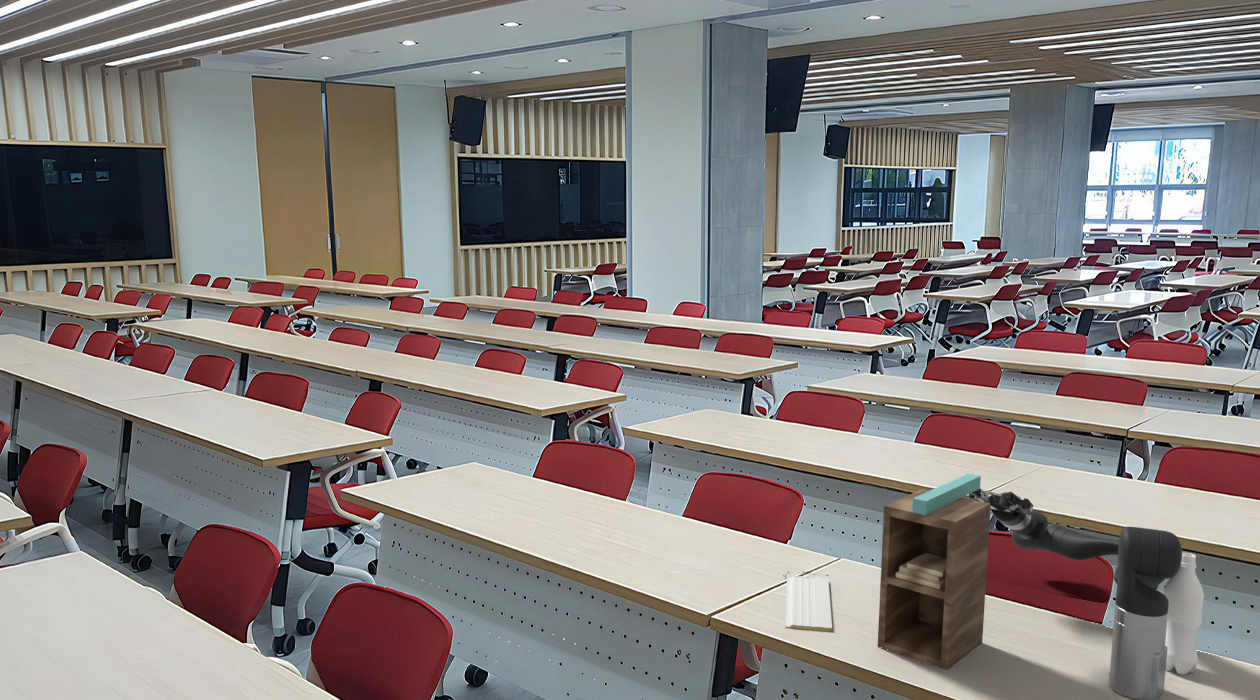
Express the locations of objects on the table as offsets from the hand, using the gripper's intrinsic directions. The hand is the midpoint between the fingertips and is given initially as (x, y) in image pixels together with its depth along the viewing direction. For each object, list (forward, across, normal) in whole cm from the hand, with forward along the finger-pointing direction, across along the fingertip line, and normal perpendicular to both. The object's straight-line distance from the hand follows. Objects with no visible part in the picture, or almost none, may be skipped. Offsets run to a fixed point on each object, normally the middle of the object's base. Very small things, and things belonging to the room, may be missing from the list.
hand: (991, 492), depth 227 cm
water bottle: (-10, +43, +27) cm, 52 cm away
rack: (+11, 0, +39) cm, 41 cm away
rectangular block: (+23, 0, +9) cm, 24 cm away
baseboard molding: (+10, -33, +40) cm, 53 cm away
